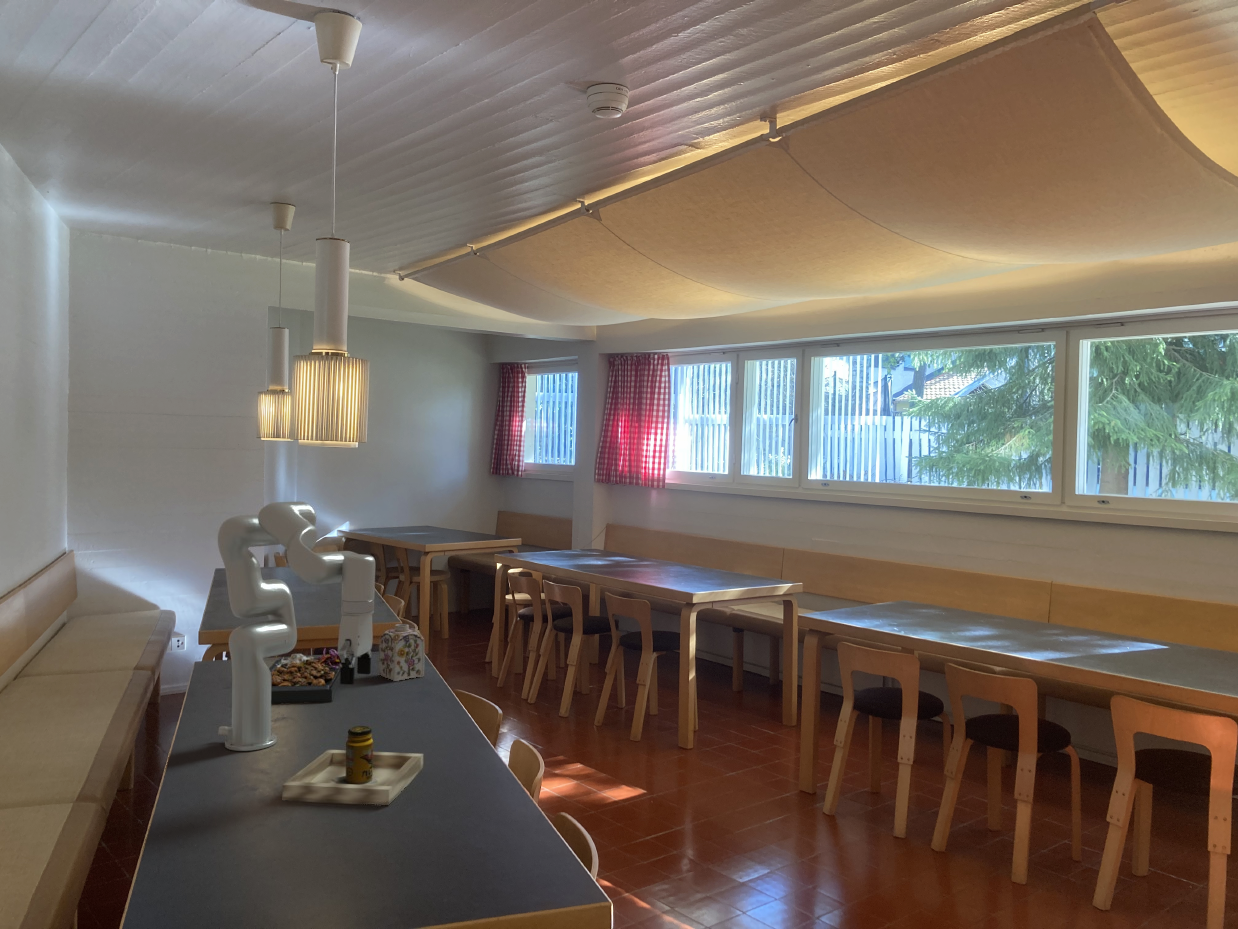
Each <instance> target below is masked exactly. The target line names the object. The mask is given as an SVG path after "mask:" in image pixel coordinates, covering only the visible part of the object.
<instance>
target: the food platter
mask: <svg viewBox="0 0 1238 929" xmlns="http://www.w3.org/2000/svg"><path fill="white" fill-rule="evenodd" d="M328 653H329V654H326V648H323V654H322V656H318V657H314V656H313V655H311V656H308V657H307V656H306V655H304V654H302V653H292V654H291V656H290V657H287V658H285V657H284V656H283V657H282V658H278V659H277V660H275V661H274V663H272V665H271V666H270V667H268V668H269V670H270V672H271V683H272V686H271V705H282V704H281V703H284V704H285V703H290V704H305V703H304V702H319V703H332V702H333V701H332V700H334V699H333V698H335V697H334V696H336V695H337V693H338V691H337V690H339V689H338V688H340V687H341V685H342V684H341V683H340V671H341V667H340V661H339V659H340V657H339V656H338V651H336V650H335V649H333V648H331V649H330V650H329V651H328ZM340 684H341V685H340ZM339 686H340V687H339ZM336 692H337V693H336ZM335 694H336V695H335ZM284 704H283V705H284Z"/></svg>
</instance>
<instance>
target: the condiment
mask: <svg viewBox="0 0 1238 929" xmlns="http://www.w3.org/2000/svg"><path fill="white" fill-rule="evenodd" d="M372 731H373V729H372V728H371V727H370V726H369V725H355V726H352V727H350V728H349V729H348V731H347V733H348V734H347V740H346V741H345V750H346V776H342V777H335V778H333V780H334V781H335V783H336V784H353V785H364V784H370V783H375V782H378V781H377V780H376V779H375V778H374V777H373V776H372V775H373V752H374V740H373V735H372V734H373V733H372Z"/></svg>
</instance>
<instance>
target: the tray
mask: <svg viewBox="0 0 1238 929" xmlns="http://www.w3.org/2000/svg"><path fill="white" fill-rule="evenodd" d="M423 769H424V753H413V752H411V753H410V752H407V753H406V752H392V751H391V752H387V751H373V775H372V776H373V777H374V778H375V779H376V780H377V781H378V782H375V783H370V784H364V785H353V784H336V783H335V781H334V780H333V778H335V777H342V776H346V749H345V750H344V749H342V750H341V749H327V750H325V751H324V752H323V753H322V754H321V755H319V756H317V757H316V759H314V760H313V761H311V762H310V763H309V764H307V765H306V766H305V767H304V768H302V769H301V770H299V771H298V772H297V773H296V774H294V775H293V776H292V777H290V778H289V779H288V780H286V781H285V782H284V783H283V784H282V790H281V791H282V792H281V793H282V794H281V795H282V796H281V798H282V799H281V800H290V801H289V802H303V803H304V802H305V803H324V804H343V805H345V804H346V805H347V804H348V805H363V804H364V805H365V804H366V805H365V806H368V805H367V804H375V805H374V806H379V805H378V804H382V805H389V804H390V803H391V802H392V801H393V800H394V799H395V798H396V799H397V798H398V796H400V794H401V793H402V792H403V791H404V790H405V789H406V788H405V787H407V786H408V785H410V783H411V782H412V781H413V780H414V779H415V778H416V777H417V776H418V775H419V773H420V772H421V771H422V770H423ZM404 788H405V789H404ZM401 791H402V792H401ZM396 799H395V800H396ZM395 800H394V801H395ZM394 801H393V802H394ZM393 802H392V803H393ZM392 803H391V804H392ZM376 804H377V805H376ZM391 804H390V805H391ZM390 805H389V806H390Z"/></svg>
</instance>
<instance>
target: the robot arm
mask: <svg viewBox="0 0 1238 929" xmlns="http://www.w3.org/2000/svg"><path fill="white" fill-rule="evenodd" d="M316 524H317V515H316V511H315V509H314V508H313V507H312V506H311V505H310V504H309V503H307V502H305V501H276V502H271V503H268V504H266V505H264V506H263V507H262V508H261V509H260V511H259V512H258V514H244V515H243V514H242V515H236V516H232V517H229V518H227V519H226V520H224V521H223V522H222V523H221V526H220V527H219V529H218V533H217V545H218V546H217V547H218V551H219V553H220V557H221V559H222V562H223V566H224V568H225V576H226V584H227V592H228V600H229V606H230V610H231V612H232V614H233V616H234V617H235V618H239V619H253V618H259V617H265V616H267V618H268V620H263V621H256V622H250V623H245V624H242V625H240V626H237V627H236V628H234V629H233V630H232V631H231V633H230V634H229V637H228V650H229V655H230V659H231V660H230V661H231V671H232V672H231V674H232V675H231V676H232V677H231V679H232V680H231V681H232V682H231V684H232V685H231V686H232V687H231V690H232V693H231V697H232V698H231V726H221V725H220V726H219V728H218V733H217V735H218V736H219V737H226V738H227V739H226V740H225V742H224V747H225V748H226V749H228V750H230V751H237V752H249V751H250V752H251V751H258V750H263V749H265V748H270V747H272V746H274V745H276V743H277V742H278V737H277V735H276V734H273V733H271V732H272V704H271V686H272V683H271V672H270V670H269V668H270V667H268V665H267V664H266V663H265V661H264V660H265V659H266V658H270V657H274V656H280V655H285V654H288V653H289V652H292V650H294V648H295V647H296V645H297V640H298V629H297V622H296V615H295V608H294V600H293V599H294V598H293V595H292V591H291V589H290V587H289V586H288V584H287V583H286V582H285V581H283V580H282V579H278V578H277V579H275V578H272V579H271V578H270V579H264V578H263V576H262V571H261V564H260V561H259V559H258V557H256V555H255V554H254V552H252V551H251V550H250V549H249V548H253V547H267V546H269V547H270V546H279V545H281V546H282V547H283V548H285V549H286V559H287V562H288V566H289V568H290V569H291V571H292V572H293V573H294V574H295V575H297V577H300V579H302V580H303V581H304V582H306V583H308V584H310V585H313V586H315V585H316V586H320V585H321V586H322V585H329V584H335V583H336V584H337V583H338V584H339V583H341V604H340V605H341V606H340V607H341V608H340V614H341V618H340V624H339V628H338V629H339V631H338V643H337V653H338V656H339V657H340V659H339V661H340V667H341V671H340V683H341V685H351V686H352V685H354V684H355V670H356V672H357V674H358V675H371V673H372V672H371V669H372V667H371V666H372V654H373V653H372V650H373V641H374V640H373V639H374V636H373V629H374V628H373V614H374V613H375V586H376V584H375V583H376V560H375V557H374V556H372V555H370V554H359V553H357V552H354V551H350V550H339V551H325V552H317V553H316V552H314V551H313V550H312V549H313V548H314V547H315V546H316V543H317V541H318V538H319V532H318V529H317V527H316ZM356 658H357V662H356ZM355 662H356V663H357V664H356V665H357V667H355V666H354V665H355Z"/></svg>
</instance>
